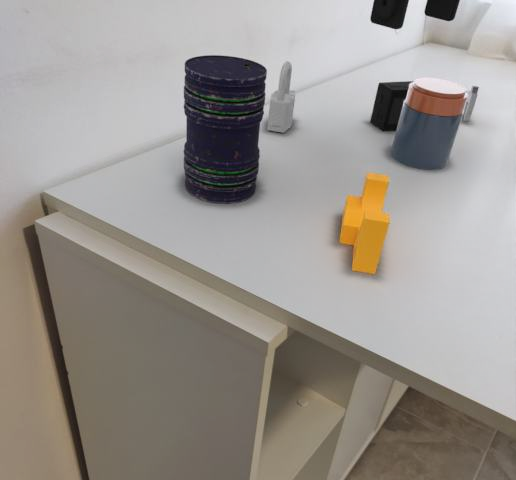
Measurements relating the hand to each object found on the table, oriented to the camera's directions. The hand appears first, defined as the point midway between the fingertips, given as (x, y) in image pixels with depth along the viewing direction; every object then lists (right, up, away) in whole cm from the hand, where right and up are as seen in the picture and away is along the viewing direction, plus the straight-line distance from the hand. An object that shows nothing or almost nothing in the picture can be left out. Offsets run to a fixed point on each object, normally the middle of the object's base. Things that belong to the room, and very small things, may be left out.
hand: (413, 21), depth 51 cm
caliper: (+26, +18, +58) cm, 66 cm away
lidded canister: (+11, -1, +35) cm, 37 cm away
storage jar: (-20, -10, +21) cm, 31 cm away
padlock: (-11, +7, +41) cm, 43 cm away
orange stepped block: (-3, -19, +13) cm, 23 cm away
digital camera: (+11, +9, +46) cm, 48 cm away
